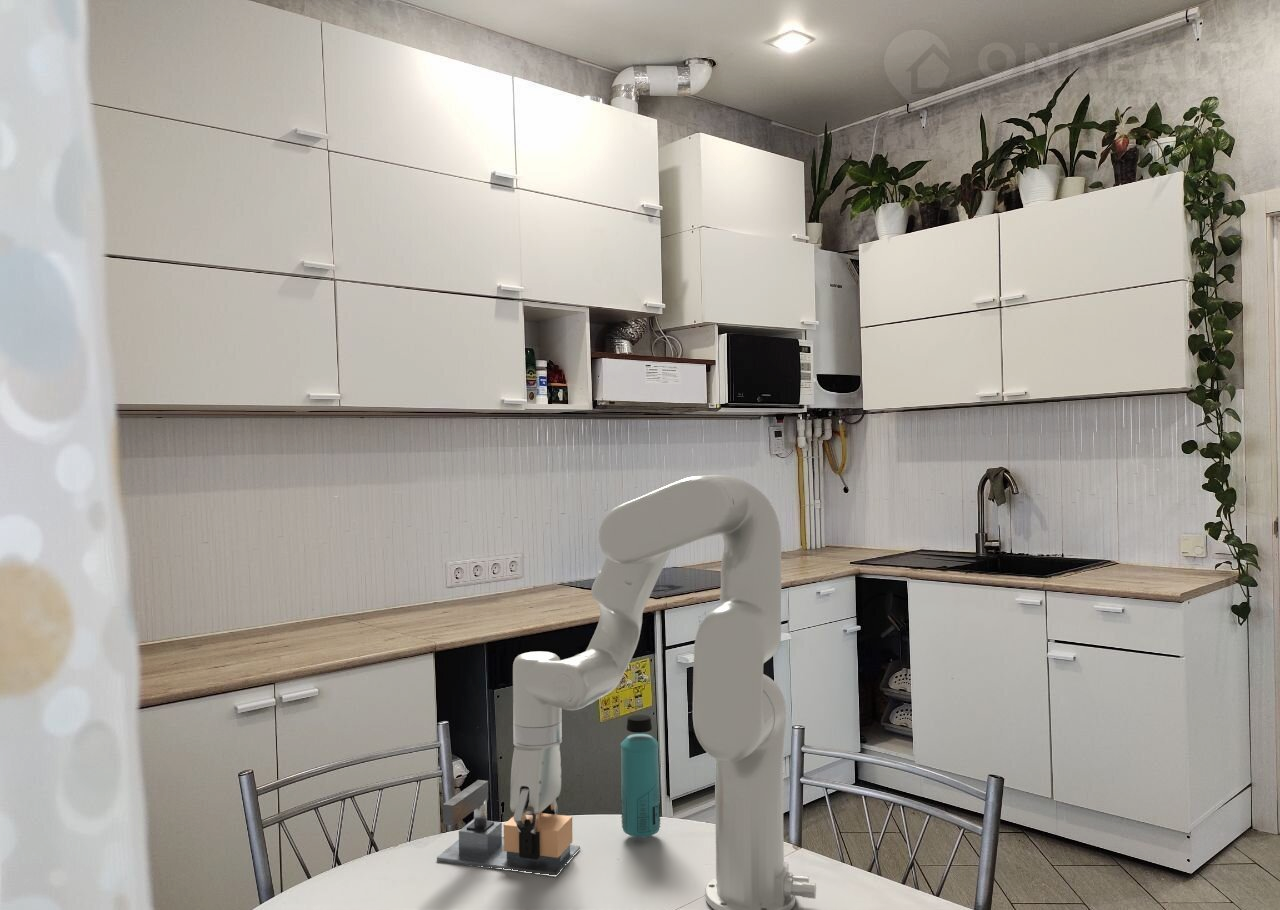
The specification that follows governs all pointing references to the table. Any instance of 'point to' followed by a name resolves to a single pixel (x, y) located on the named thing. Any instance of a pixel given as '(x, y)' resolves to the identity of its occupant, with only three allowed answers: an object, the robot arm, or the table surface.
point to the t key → (468, 805)
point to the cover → (543, 834)
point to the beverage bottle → (640, 779)
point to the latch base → (498, 851)
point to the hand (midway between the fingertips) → (538, 847)
